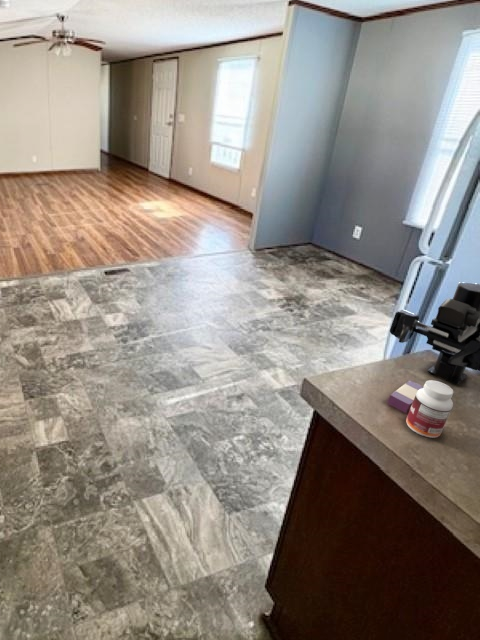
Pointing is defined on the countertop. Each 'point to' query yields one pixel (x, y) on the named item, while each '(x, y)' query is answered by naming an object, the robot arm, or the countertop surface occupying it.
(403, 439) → the countertop surface
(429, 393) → the pill bottle
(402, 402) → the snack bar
